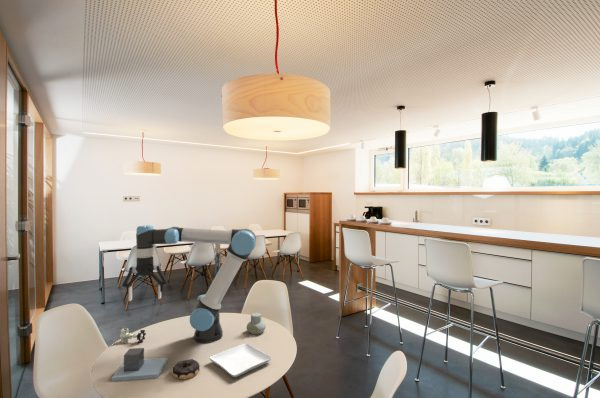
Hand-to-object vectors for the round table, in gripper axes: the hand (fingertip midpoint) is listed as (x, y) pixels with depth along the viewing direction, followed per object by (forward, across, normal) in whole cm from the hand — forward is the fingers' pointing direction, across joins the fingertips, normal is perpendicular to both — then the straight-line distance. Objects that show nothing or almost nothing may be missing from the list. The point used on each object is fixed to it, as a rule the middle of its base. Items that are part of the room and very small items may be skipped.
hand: (145, 299), depth 152 cm
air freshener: (+27, -55, -12) cm, 63 cm away
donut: (+27, -23, +24) cm, 43 cm away
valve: (+26, +10, -12) cm, 31 cm away
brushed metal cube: (+24, 0, +18) cm, 30 cm away
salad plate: (+27, -46, +21) cm, 58 cm away
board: (+26, -3, +19) cm, 32 cm away
